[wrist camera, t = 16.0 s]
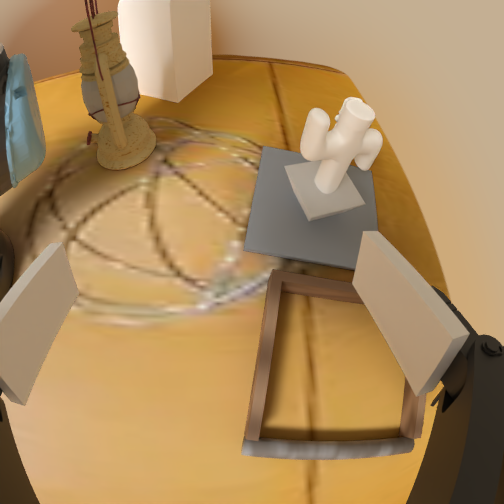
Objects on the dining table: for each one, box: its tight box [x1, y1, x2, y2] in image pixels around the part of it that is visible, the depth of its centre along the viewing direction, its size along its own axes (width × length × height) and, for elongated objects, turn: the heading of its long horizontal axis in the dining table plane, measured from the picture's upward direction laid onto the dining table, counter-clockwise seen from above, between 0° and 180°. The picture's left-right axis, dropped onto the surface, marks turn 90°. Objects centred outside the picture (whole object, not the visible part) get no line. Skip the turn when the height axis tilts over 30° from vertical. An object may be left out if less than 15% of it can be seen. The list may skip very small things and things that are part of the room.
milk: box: [118, 0, 213, 103], centre depth 34 cm, size 12×12×26 cm
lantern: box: [71, 0, 156, 170], centre depth 24 cm, size 12×10×30 cm
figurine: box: [284, 97, 383, 221], centre depth 28 cm, size 7×9×15 cm
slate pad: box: [243, 146, 378, 271], centre depth 35 cm, size 16×16×1 cm
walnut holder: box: [242, 269, 426, 460], centre depth 25 cm, size 18×18×3 cm
